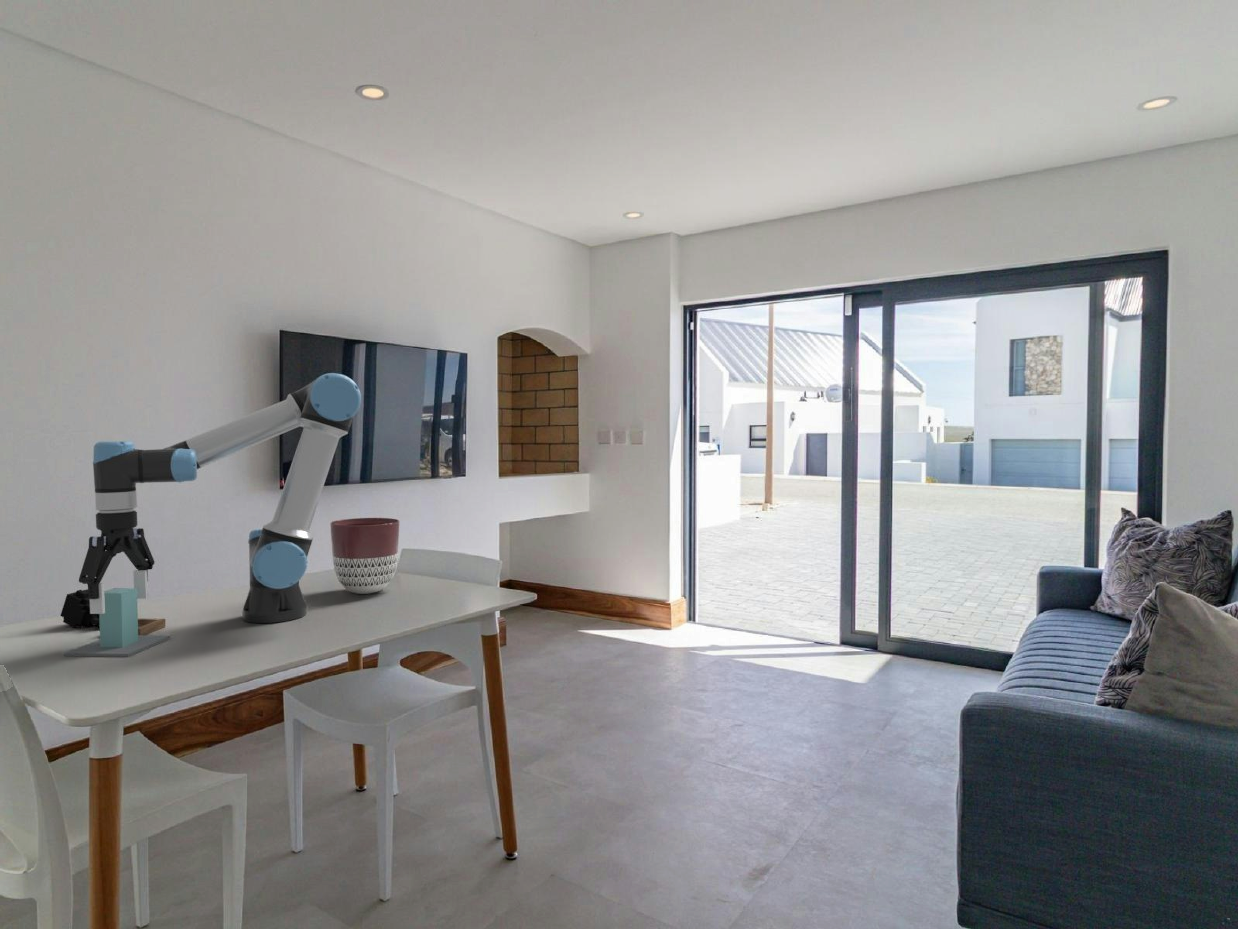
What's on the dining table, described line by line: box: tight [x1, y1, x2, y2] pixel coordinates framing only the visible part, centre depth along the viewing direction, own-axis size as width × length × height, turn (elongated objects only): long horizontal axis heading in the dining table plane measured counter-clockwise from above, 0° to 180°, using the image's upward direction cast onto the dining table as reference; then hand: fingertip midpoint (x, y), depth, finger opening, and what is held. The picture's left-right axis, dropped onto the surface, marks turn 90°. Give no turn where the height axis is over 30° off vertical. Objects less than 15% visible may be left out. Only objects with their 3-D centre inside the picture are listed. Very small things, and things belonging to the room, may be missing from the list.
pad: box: [63, 634, 172, 658], centre depth 161 cm, size 14×14×1 cm
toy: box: [60, 588, 100, 628], centre depth 178 cm, size 9×8×15 cm
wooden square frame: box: [138, 617, 166, 635], centre depth 173 cm, size 9×9×2 cm
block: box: [99, 587, 139, 647], centre depth 161 cm, size 5×5×12 cm
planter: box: [330, 517, 400, 595], centre depth 217 cm, size 20×20×21 cm
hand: (120, 605), depth 161 cm, fingers open, 13 cm apart
